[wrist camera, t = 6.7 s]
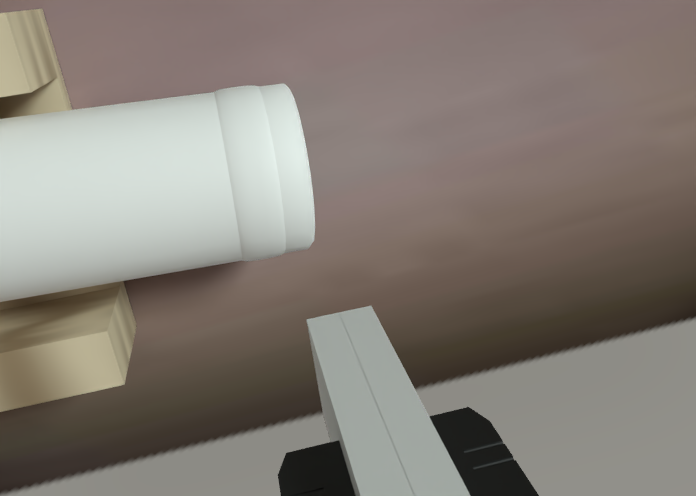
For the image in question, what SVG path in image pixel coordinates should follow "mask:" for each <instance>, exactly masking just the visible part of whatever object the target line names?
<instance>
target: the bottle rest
mask: <svg viewBox="0 0 696 496" xmlns="http://www.w3.org/2000/svg"><path fill="white" fill-rule="evenodd" d="M68 110H72V107H71V103H70V100H69V97H68V93H67V90H66V87H65V83H64V80H63V77H62V73H61V70H60V67H59V63H58V60H57V56H56V53H55V50H54V46H53V43H52V40H51V36H50V33H49V30H48V26H47V23H46V19H45V16H44V13H43V9H35V10H26V11H17V12H8V13H0V119H4V118H12V117H20V116H28V115H36V114H44V113H52V112H60V111H68ZM136 326H137V325H136V322H135V319H134V315H133V312H132V308H131V305H130V302H129V298H128V295H127V292H126V288H125V285H124V282H123V281H120V282H114V283H108V284H102V285H96V286H91V287H85V288H79V289H73V290H67V291H61V292H56V293H50V294H44V295H38V296H32V297H27V298H21V299H15V300H9V301H3V302H0V412H2V411H7V410H11V409H16V408H20V407H25V406H30V405H34V404H39V403H43V402H48V401H52V400H57V399H61V398H66V397H70V396H75V395H80V394H84V393H89V392H93V391H98V390H102V389H107V388H111V387H116V386H120V385H124V384H125V379H126V374H127V370H128V365H129V360H130V355H131V350H132V346H133V341H134V336H135V331H136Z"/></svg>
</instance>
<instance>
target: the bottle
mask: <svg viewBox="0 0 696 496" xmlns="http://www.w3.org/2000/svg"><path fill="white" fill-rule="evenodd" d="M314 234H315V215H314V200H313V191H312V182H311V174H310V168H309V162H308V155H307V149H306V143H305V139H304V134H303V130H302V125H301V121H300V116H299V113H298V109H297V106H296V103H295V99H294V96H293V95H292V93H291V91H290V89H289V87H287V86H286V85H285V84H276V85H268V86H260V87H258V86H254V85H252V86H240V87H232V88H226V89H220V90H217V91H215V92H212V93H204V94H196V95H188V96H180V97H172V98H164V99H156V100H148V101H140V102H132V103H124V104H116V105H108V106H100V107H92V108H84V109H76V110H68V111H60V112H52V113H44V114H36V115H28V116H20V117H12V118H4V119H0V302H3V301H9V300H15V299H21V298H27V297H32V296H38V295H44V294H50V293H56V292H61V291H67V290H73V289H79V288H85V287H91V286H96V285H102V284H108V283H114V282H120V281H125V280H131V279H137V278H143V277H149V276H155V275H160V274H166V273H172V272H178V271H184V270H189V269H195V268H201V267H207V266H213V265H219V264H224V263H230V262H236V261H242V260H243V261H254V260H261V259H267V258H272V257H276V256H281V255H282V254H284V253H288V252H294V251H300V250H306V249H308V248H309V247H310V245H311V244H312V242H313V241H314Z"/></svg>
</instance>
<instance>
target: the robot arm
mask: <svg viewBox="0 0 696 496" xmlns="http://www.w3.org/2000/svg"><path fill="white" fill-rule="evenodd" d="M307 325H308V331H309V336H310V342H311V348H312V353H313V359H314V365H315V370H316V376H317V382H318V387H319V393H320V399H321V404H322V410H323V416H324V420H325V424H326V427H327V431H328V434H329V438H330V443H326V444H322V445H317V446H314V447H309V448H305V449H301V450H297V451H293V452H289V453H286V455H285V458H284V461H283V463H282V466H281V469H280V471H279V474H278V479H279V485H280V492H281V496H539V495H538V494H537V492H536V491H535V489H534V488H533V486H532V485H531V483H530V482H529V480H528V478H527V477H526V475H525V474H524V472H523V471H522V469H521V468H520V466H519V465H518V463H517V462H516V461H514V459H513V456H512V454H511V453H510V451H509V450H508V448H507V447H506V445H505V444H503V441H502V439H501V438H500V436H499V434H498V433H497V431H496V430H495V428H494V427H493V426H492V424H491V422H490V421H489V420H487V419H486V418H484V417H483V416H481V415H480V414H478V413H477V412H475V411H474V410H472V409H471V408H469V407H467V408H463V409H459V410H454V411H451V412H446V413H442V414H438V415H434V416H430V417H429V415H428V414H427V412H426V410H425V408H424V406H423V404H422V402H421V400H420V398H419V397H418V394H417V392H416V390H415V389H414V387H413V385H412V383H411V381H410V379H409V377H408V375H407V373H406V371H405V369H404V368H403V366H402V364H401V362H400V360H399V358H398V356H397V354H396V352H395V350H394V348H393V347H392V345H391V343H390V341H389V339H388V337H387V335H386V333H385V331H384V329H383V327H382V326H381V324H380V322H379V320H378V318H377V316H376V314H375V312H374V310H373V308H372V306H368V307H363V308H358V309H354V310H349V311H344V312H340V313H335V314H330V315H326V316H321V317H316V318H312V319H307Z"/></svg>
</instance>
